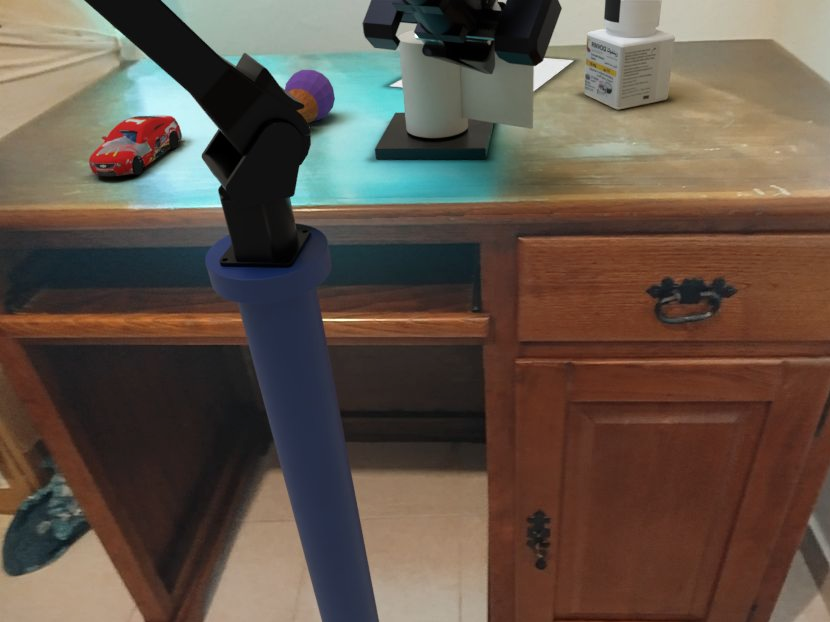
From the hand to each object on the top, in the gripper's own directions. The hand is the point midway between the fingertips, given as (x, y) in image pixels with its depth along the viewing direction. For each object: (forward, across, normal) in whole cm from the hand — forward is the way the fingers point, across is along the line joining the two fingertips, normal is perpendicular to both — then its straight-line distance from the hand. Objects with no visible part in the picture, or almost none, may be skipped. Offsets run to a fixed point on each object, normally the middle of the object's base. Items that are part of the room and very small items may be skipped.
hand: (490, 69), depth 74 cm
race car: (-7, +35, +19) cm, 41 cm away
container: (+23, -6, -10) cm, 26 cm away
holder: (+7, +8, +6) cm, 12 cm away
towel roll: (+6, +4, +4) cm, 8 cm away
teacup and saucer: (+25, +16, -12) cm, 32 cm away
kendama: (+2, +23, +11) cm, 25 cm away
